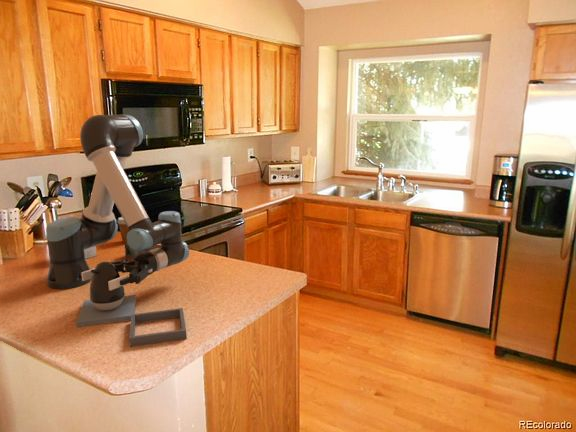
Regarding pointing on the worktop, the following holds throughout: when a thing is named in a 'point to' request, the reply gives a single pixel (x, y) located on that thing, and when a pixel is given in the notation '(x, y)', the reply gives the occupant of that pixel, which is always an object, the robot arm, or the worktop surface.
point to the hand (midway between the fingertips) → (95, 281)
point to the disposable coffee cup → (123, 229)
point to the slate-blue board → (106, 312)
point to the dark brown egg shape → (105, 287)
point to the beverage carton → (133, 253)
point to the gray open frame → (161, 335)
